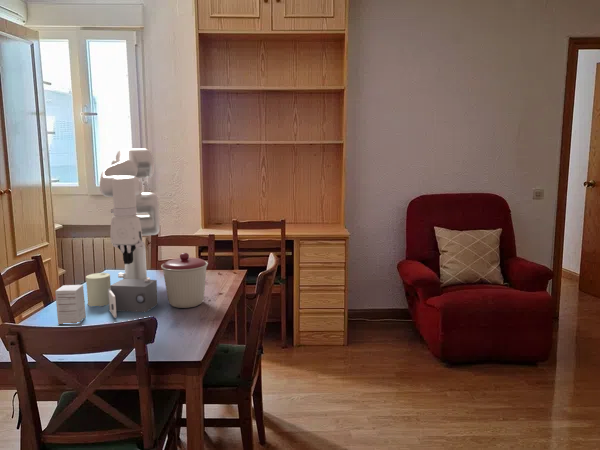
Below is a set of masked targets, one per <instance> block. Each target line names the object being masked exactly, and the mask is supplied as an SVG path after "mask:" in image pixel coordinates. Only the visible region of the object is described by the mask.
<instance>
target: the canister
mask: <svg viewBox="0 0 600 450" xmlns="http://www.w3.org/2000/svg"><path fill="white" fill-rule="evenodd" d="M208 265H209V262H208V261H206V260H204V259H203V258H199V257H190V255H189V253H187V252H181V253H180V254H179V257H178V258H173V259H169V260H167V261H165V262H164V263H162V264H161V265H160V267H161V269H162V270H163V271H162V272H163V277H164V283H165V289H166V295H167V300H168V302H169V304H170V306H172V307H174V308H176V309H177V308H179V309H190V308H194V307H197V306H199V305H201V304H202V303H203V301H204V298H205V289H206V288H205V287H206V278H207V277H206V275H207V267H208Z"/></svg>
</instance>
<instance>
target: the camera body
mask: <svg viewBox="0 0 600 450" xmlns="http://www.w3.org/2000/svg"><path fill="white" fill-rule="evenodd" d="M157 281H158V280H157V279H151V278H150V279H145V280H143V279H123V278H121V280H119V281H117V282H115V283H113V284H112V283H111V285H110V286H111V291H112V292H113V294H114V295H115V299H116V312H130V311H131V313H132V312H133V313H147V312H149V311H150V310H151V309H153V308H155V307H156V306H157V305H158V304H159V301H158V300H159V299H158V282H157Z"/></svg>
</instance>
